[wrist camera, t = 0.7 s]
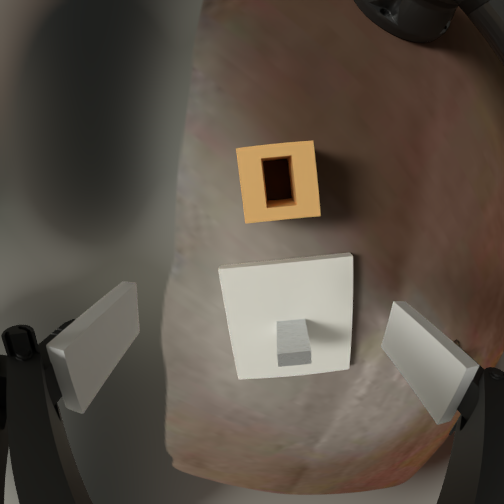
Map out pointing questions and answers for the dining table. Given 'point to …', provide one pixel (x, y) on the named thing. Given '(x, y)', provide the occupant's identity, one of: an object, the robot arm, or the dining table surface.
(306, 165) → the hollow tan cube
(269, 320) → the base plate
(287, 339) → the steel shaft
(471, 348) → the dining table surface
